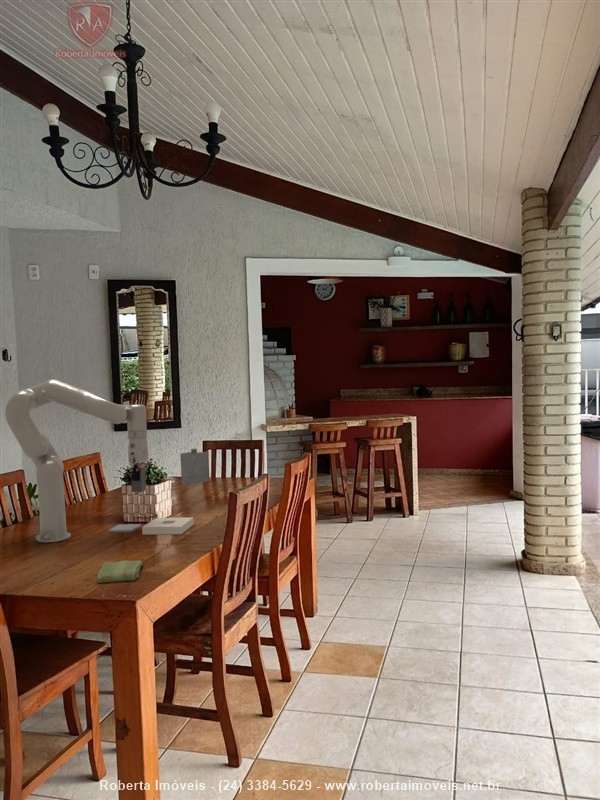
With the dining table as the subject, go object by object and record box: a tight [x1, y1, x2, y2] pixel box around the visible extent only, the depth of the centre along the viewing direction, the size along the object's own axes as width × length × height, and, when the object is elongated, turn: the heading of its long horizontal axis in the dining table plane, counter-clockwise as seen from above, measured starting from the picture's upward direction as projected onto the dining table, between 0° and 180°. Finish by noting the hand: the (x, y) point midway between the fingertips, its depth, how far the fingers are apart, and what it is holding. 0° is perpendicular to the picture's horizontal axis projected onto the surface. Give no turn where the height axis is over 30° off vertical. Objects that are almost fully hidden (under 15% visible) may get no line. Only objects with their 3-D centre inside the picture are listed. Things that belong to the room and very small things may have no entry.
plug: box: [130, 462, 147, 493], centre depth 269 cm, size 4×4×11 cm
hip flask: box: [179, 448, 211, 485], centre depth 380 cm, size 16×4×20 cm, turn 92°
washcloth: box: [96, 560, 144, 584], centre depth 210 cm, size 13×18×3 cm
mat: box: [107, 523, 142, 533], centre depth 272 cm, size 10×10×1 cm
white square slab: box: [141, 517, 195, 536], centre depth 268 cm, size 16×16×3 cm
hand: (138, 479), depth 269 cm, fingers closed on plug, 4 cm apart
